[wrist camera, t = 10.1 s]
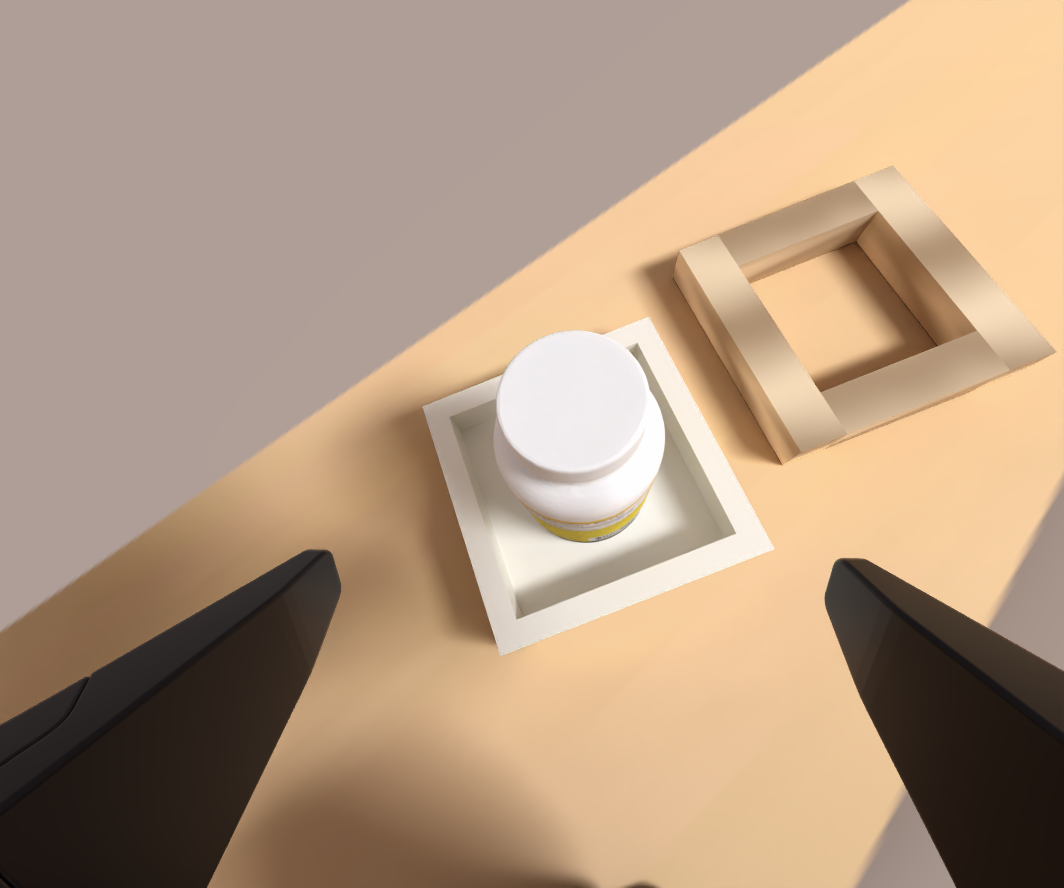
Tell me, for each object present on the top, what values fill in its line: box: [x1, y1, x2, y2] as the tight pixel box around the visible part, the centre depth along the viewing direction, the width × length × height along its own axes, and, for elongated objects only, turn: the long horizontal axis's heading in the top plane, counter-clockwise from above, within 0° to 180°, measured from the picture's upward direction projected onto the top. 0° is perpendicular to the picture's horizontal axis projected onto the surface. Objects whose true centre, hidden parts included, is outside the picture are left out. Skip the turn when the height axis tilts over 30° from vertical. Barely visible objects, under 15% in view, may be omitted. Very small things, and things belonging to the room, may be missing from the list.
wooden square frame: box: [673, 166, 1056, 465], centre depth 22 cm, size 11×11×2 cm
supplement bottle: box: [493, 330, 665, 543], centre depth 17 cm, size 5×5×10 cm
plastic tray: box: [422, 317, 774, 656], centre depth 21 cm, size 11×11×2 cm
